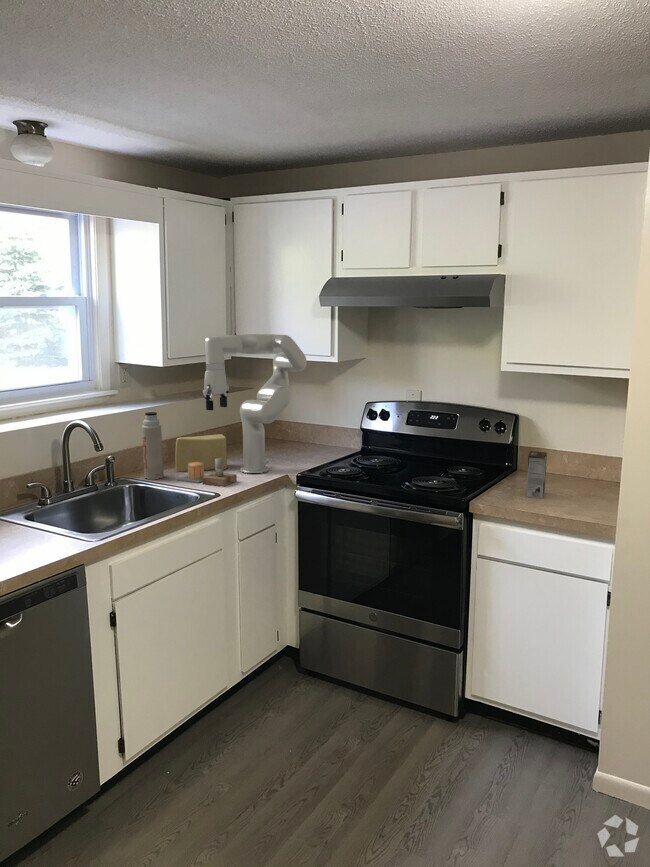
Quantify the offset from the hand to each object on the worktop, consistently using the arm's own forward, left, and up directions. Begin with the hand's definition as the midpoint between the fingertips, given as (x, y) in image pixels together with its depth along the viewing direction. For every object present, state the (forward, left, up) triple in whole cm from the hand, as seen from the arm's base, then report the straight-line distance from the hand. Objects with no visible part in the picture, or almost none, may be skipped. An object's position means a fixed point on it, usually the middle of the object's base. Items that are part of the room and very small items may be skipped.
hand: (216, 408), depth 297 cm
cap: (+3, -10, -30) cm, 31 cm away
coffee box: (-32, +124, -31) cm, 132 cm away
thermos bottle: (+8, -28, -31) cm, 42 cm away
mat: (+3, -10, -30) cm, 32 cm away
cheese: (-13, -19, -31) cm, 38 cm away
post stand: (+4, +3, -30) cm, 31 cm away
